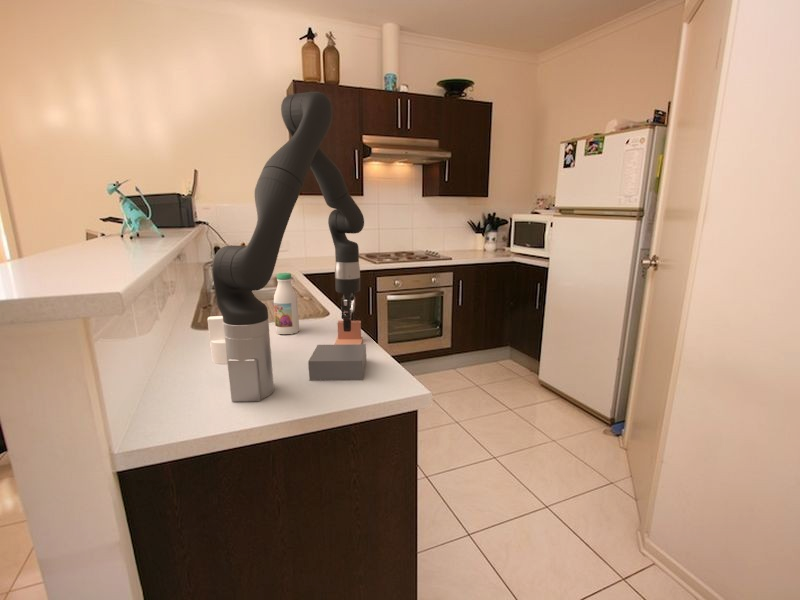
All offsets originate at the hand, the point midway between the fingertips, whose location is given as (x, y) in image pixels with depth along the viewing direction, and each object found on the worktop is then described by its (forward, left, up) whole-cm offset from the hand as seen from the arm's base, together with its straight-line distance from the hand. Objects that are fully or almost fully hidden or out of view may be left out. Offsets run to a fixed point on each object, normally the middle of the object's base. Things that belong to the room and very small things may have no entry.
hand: (348, 327), depth 127 cm
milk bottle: (+9, +22, -5) cm, 24 cm away
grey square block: (-24, 0, -4) cm, 25 cm away
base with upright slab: (-15, +32, -5) cm, 35 cm away
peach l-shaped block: (-9, 0, -4) cm, 10 cm away
